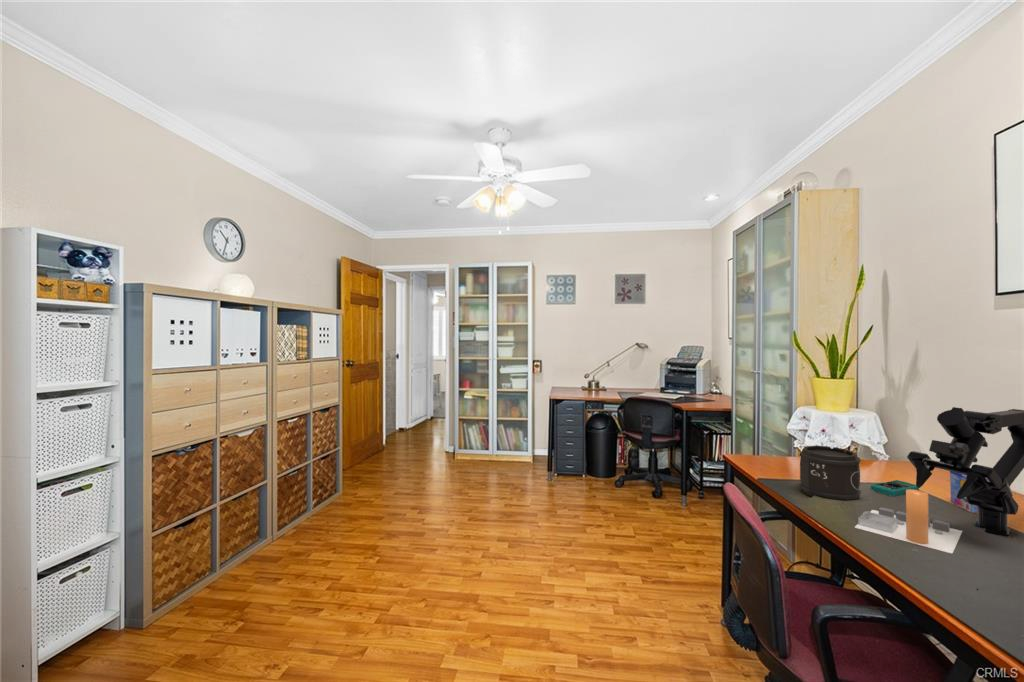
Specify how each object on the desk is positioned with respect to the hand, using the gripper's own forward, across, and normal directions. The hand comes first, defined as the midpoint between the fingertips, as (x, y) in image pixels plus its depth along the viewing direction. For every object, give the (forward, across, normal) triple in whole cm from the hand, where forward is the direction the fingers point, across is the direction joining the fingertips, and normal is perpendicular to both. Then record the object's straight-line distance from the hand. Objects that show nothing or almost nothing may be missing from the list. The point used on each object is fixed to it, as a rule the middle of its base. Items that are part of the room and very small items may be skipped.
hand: (937, 492), depth 120 cm
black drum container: (+6, -35, +13) cm, 38 cm away
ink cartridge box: (-16, -13, +36) cm, 41 cm away
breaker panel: (+12, -5, +7) cm, 15 cm away
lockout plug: (+14, 0, +2) cm, 14 cm away
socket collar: (+14, -10, +3) cm, 17 cm away
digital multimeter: (-12, -31, +32) cm, 46 cm away
